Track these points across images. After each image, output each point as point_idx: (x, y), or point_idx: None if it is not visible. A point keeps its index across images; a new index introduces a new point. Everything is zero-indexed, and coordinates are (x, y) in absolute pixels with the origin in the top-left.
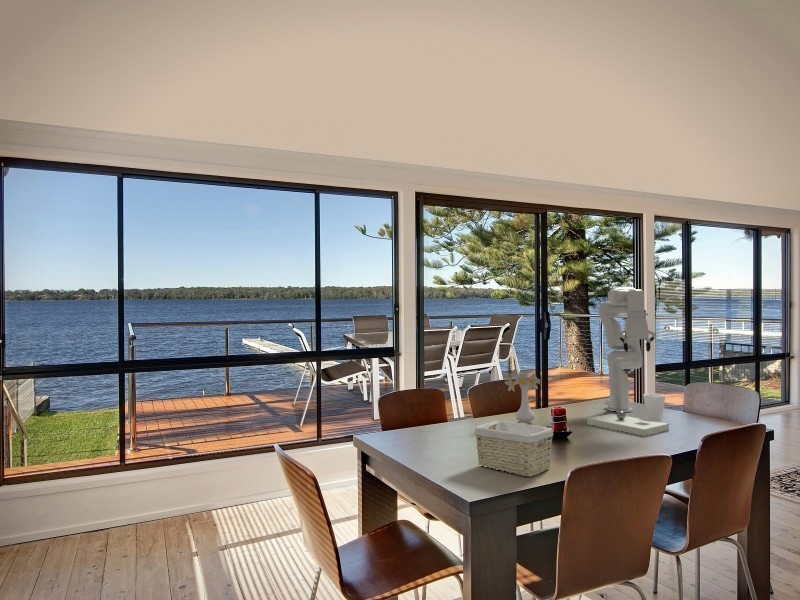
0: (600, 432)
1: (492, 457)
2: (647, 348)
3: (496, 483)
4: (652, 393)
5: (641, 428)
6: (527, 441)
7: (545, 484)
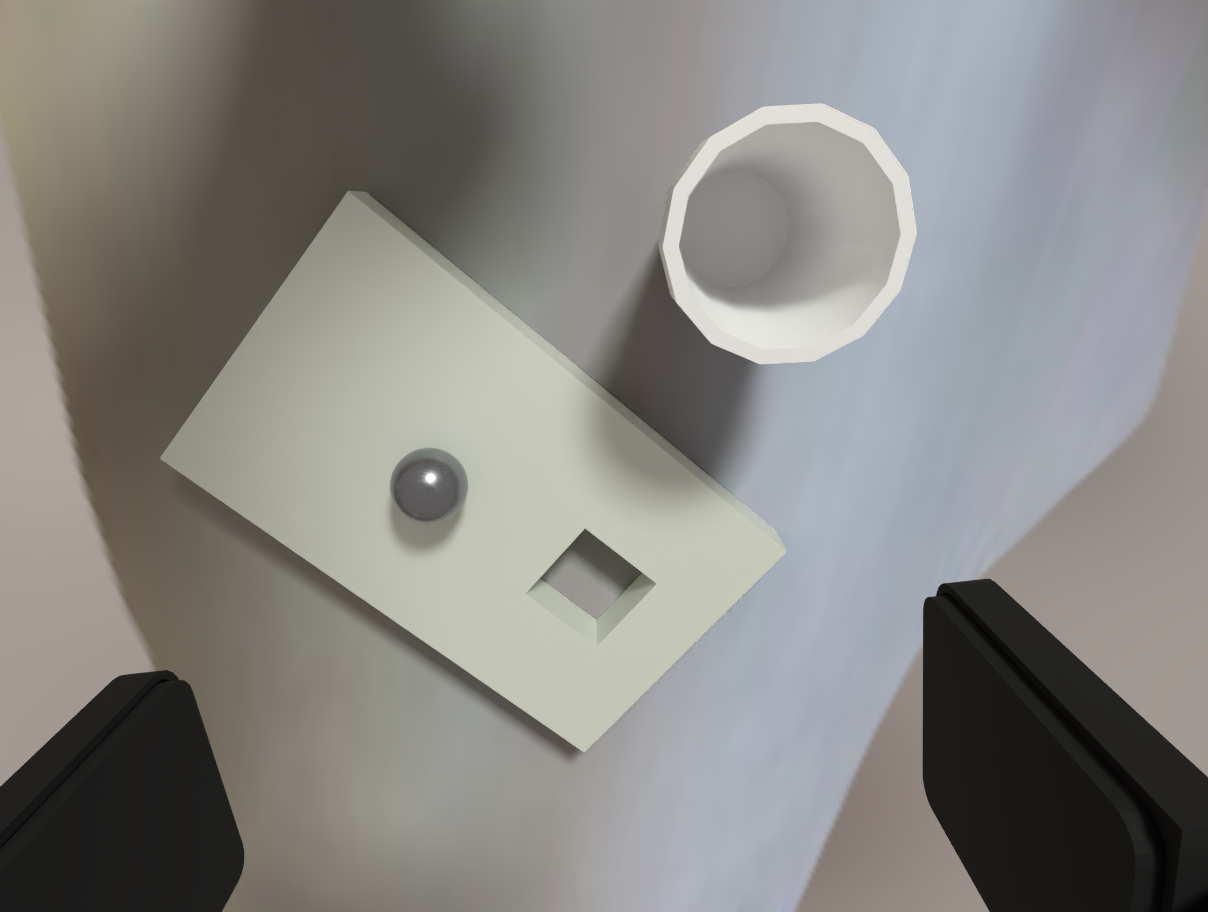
0: (309, 673)
1: None
2: (970, 844)
3: None
4: (796, 108)
5: (567, 733)
6: None
7: None
